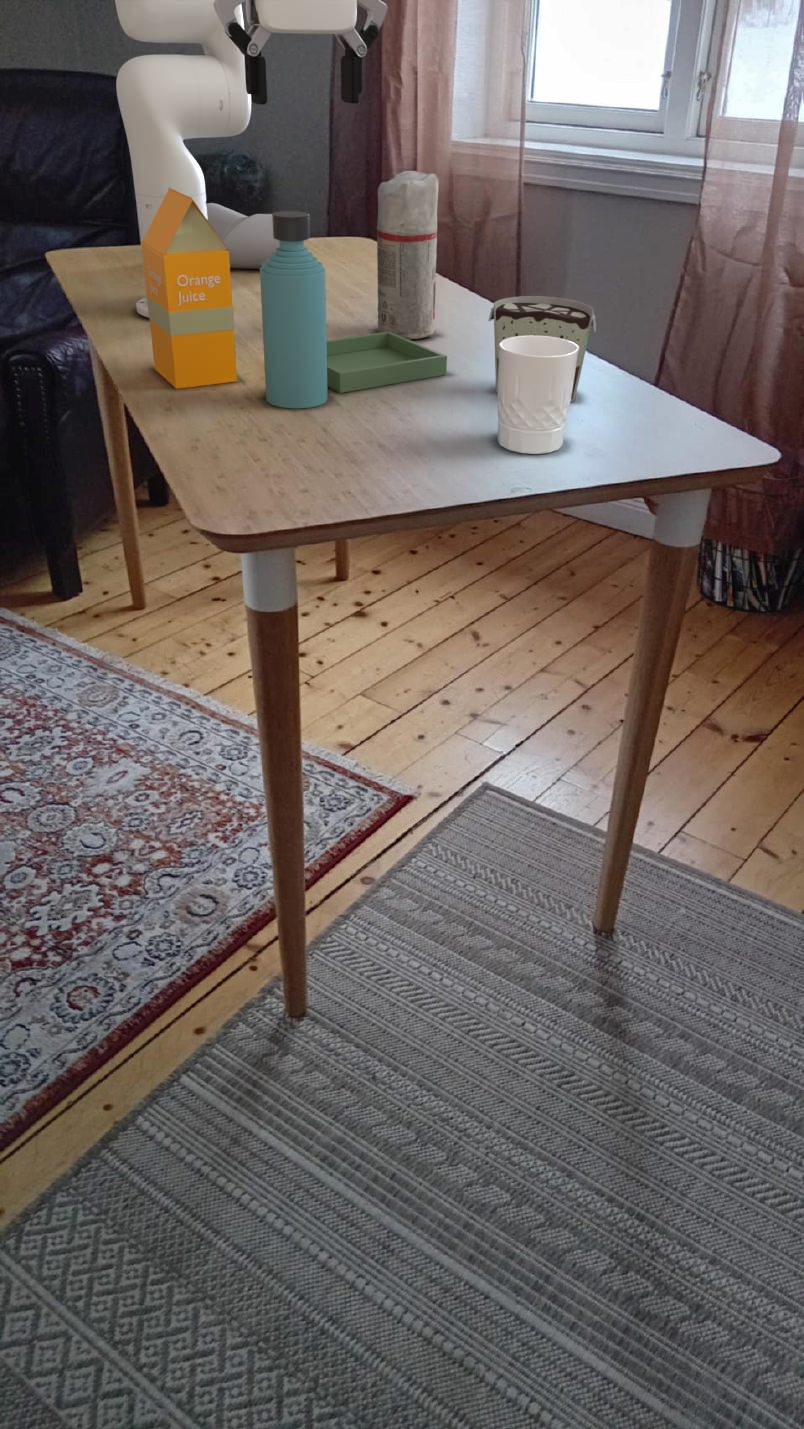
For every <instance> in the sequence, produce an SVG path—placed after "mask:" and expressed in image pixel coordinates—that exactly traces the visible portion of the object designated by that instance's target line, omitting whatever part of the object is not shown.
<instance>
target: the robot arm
mask: <svg viewBox="0 0 804 1429" xmlns="http://www.w3.org/2000/svg"><path fill="white" fill-rule="evenodd" d="M114 2H115V8H116V13H117V17H118V18H117V19H118V21H119V24H120V27H121V28H122V30H123V32H124V33H125V35H126V36H128V37H129V38H131V39H132V40H135V41H139V42H145V43H155V44H159V43H160V44H200V45H201V47H202V49H203V52H204V54H145V55H144V54H143V55H139V56H134V57H132V58H130V59H128V60H127V61H126V62H124V63H123V64H122V66H121V67H120V68H119V70H118V73H117V76H116V82H115V87H116V88H115V89H116V97H117V102H118V107H119V110H120V111H119V112H120V114H121V118H122V122H123V127H124V130H125V135H126V139H127V144H128V149H129V150H128V151H129V156H130V162H131V169H132V170H131V171H132V177H133V178H132V179H133V187H134V195H135V204H136V205H135V206H136V213H137V223H138V232H139V241H140V243H141V241H143V239H144V237H145V235H146V233H147V231H148V229H149V227H150V225H151V223H152V221H153V219H154V217H155V215H156V213H157V211H158V209H159V207H160V205H161V203H162V201H163V199H164V197H165V195H166V193H167V191H168V189H169V188H171V189H173V190H175V191H177V192H179V193H182V194H184V195H186V196H188V197H190V198H192V199H193V201H194V202H195V203H196V205H197V206H198V208H199V209H200V210H201V212H202V213H203V215H204V216H205V218H206V219H207V220H208V217H207V192H206V181H205V177H204V173H203V170H202V168H201V166H200V163H198V162H197V160H196V158H194V156H193V154H192V153H191V152H190V151H189V149H188V148H187V147H186V145H185V143H184V141H185V140H190V139H202V138H203V139H206V138H208V139H209V138H227V137H228V138H229V137H234V136H238V135H240V134H242V133H243V132H244V131H245V130H246V129H247V127H248V126H249V124H250V121H251V115H252V103H253V104H255V105H256V104H257V105H262V106H263V105H266V104H267V103H268V86H267V84H268V83H267V64H266V62H267V61H266V58H265V57H264V56H262V49H264V46H265V45H266V43H267V41H268V40H269V39H270V37H271V35H272V34H273V33H274V34H291V35H292V34H299V35H300V34H301V35H304V34H305V35H334V36H335V38H336V39H337V41H338V43H339V44H340V46H341V48H343V50H344V55H342V56H341V57H340V99H341V101H343V102H344V103H348V104H352V105H353V104H356V105H357V104H359V102H360V100H359V98H360V96H359V95H361V94H362V92H363V58H364V57H366V55H367V52H368V50H369V49H370V47H371V46H372V45H373V44H374V42H375V41H376V40H377V38H378V37H379V33H380V29H381V28H382V24H383V23H384V21H385V18H386V16H387V13H388V6H387V3H385V2H383V1H382V0H114ZM243 3H245V14H246V21H247V24H248V26H249V27H250V28H249V29H248V31H245V24H244V23H245V22H244V14H243V6H242V4H243ZM358 6H359V7H361V8H362V9H363V10H365V11H366V13H367V17H366V20H365V24H364V25H363V26H362V28H360V30H359V31H357V30H356V29H355V27H356V24H357V16H358V14H357V13H358V9H357V8H358ZM168 187H169V188H168ZM140 250H141V252H142V245H141V244H140ZM141 259H142V260H141V261H142V269H143V271H144V263H143V254H142V253H141ZM143 278H144V280H145V273H144V272H143ZM144 287H145V289H146V282H145V281H144ZM135 307H136V312H137V314H139V315H140V316H142V317H144V318H148V319H149V314H148V304H147V291H146V290H145V297H143V298H141V299H139V300H138V301H137V302H136V303H135Z"/></svg>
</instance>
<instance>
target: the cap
mask: <svg viewBox="0 0 804 1429" xmlns="http://www.w3.org/2000/svg"><path fill="white" fill-rule="evenodd" d="M271 214H272V221H273V238H274V239H276V240H281V241H303V240H304V241H307V240H309V239H311V231H310V230H311V226H310V225H311V224H310V214H309V212H305V211H299V210H282V211H281V210H280V211H274V212H272V213H271Z"/></svg>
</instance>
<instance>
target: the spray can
mask: <svg viewBox="0 0 804 1429" xmlns="http://www.w3.org/2000/svg"><path fill="white" fill-rule="evenodd" d="M439 183H440V179H439V177H438V176H437V174H435V173H424V172H418V170H405V171H402V172H400V173H398V174H396V175H395V176H394V177H393V178H391V179H390V180H388V181H383V182H381V183H380V184H379V186H378V187H377V222H376V223H377V224H376V240H377V241H376V245H377V247H376V248H377V249H376V251H377V252H376V259H377V260H376V262H377V331H378V333H381V332H387V331H389V332H391V333H394V334H396V335H398V336H401V337H403V338H406V339H408V340H417V339H418V340H419V339H425V338H429V337H431V336H434V335H435V334H436V328H435V321H436V290H437V289H436V288H437V287H436V283H437V281H436V280H437V243H438V238H437V237H438V236H437V235H438V233H437V232H438V201H439V186H440V184H439Z"/></svg>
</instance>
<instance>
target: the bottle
mask: <svg viewBox="0 0 804 1429" xmlns="http://www.w3.org/2000/svg"><path fill="white" fill-rule="evenodd" d="M279 246H280V247H278V248H276V252H273V253H272V254H271V256H270V257H268V258H267V261H265V262H263V263H262V267H261V268H260V269H259V281H260V299H261V300H260V302H261V320H262V322H261V324H262V343H263V344H262V345H263V357H264V358H263V360H264V361H263V362H264V382H265V385H264V386H265V400H266V402H267V403H268V404H270V405H272V406H274V407H278V408H284V409H309V408H315V407H320V406H321V405H324V404H325V403H326V402H327V401H328V386H327V340H328V339H327V290H326V289H327V288H326V282H327V281H326V268H325V267H324V264H323V263H322V262H321V261H319V259H318V258H317V257H315V256H314V253H312V252H310V251H309V249H308V247H305V240H303V241H281V240H279Z"/></svg>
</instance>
